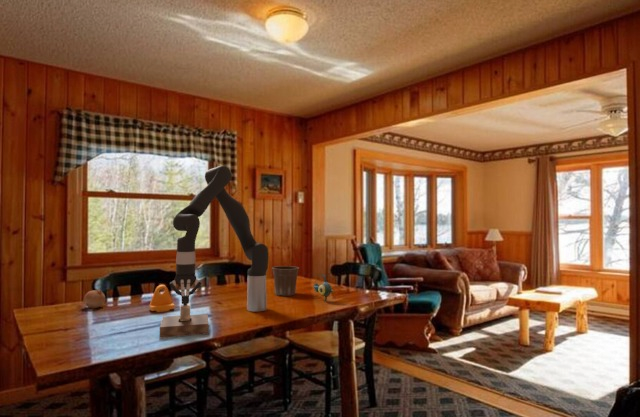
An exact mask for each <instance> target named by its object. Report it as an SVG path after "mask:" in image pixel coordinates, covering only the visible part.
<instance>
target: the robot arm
mask: <svg viewBox="0 0 640 417" xmlns="http://www.w3.org/2000/svg"><path fill="white" fill-rule="evenodd" d="M232 175H233V174H232V171H231V170H230V168H229V167H228V166H226V165H219V166H216V167H212V168H210V169H208V170H206V171H205V173H204V179H205V182H206V184H207V185H206V186H205V187H204V188H203V189H201V190H200V191H199V192H197V194H196V195H194V197H193V198H192V200H191V201H190V203H189V204H187V205H186V206H185V207H184V208H182V209H181V210H180V211H179V212H178V213H177V214H175V216H174V218H173V220H172V221H173V222H172V225H173V227H174V230H176V231H179V232H185V235H184V236H181V237H179V238H177V240H176V245H177V246H176V256H175V257H176V260H175V277H174V280H172V281H170V282H169V286H170V287H171V289H172V290H173V292H175V294H176V295H178V296H181V305H187V304H189V303H190V296H191V295H194V294H195V292H196V291H197V290H198V288H200V286H201V285H202V281H201V280H199V279H197V276H196V262H197V261H196V241H197V236H198V232H199V230H200V224H201V223H200V222H201V221H200V218H199V217H202V216H203V215H204V213H205V212H206V210H207V209H208V208H209V206H210V205H211V203H212V202H213V200H214V199H215V198H216V199H217V201H218V203H219V205H220V206H221V209H222V210H223V212H224V214H225V217H226V218H227V220H228V222H229V223H230V226H231V227H232V229H233V231H234V233H235V235H236V236H237V239H238V240H239V243H240V245H241V248H242V250H243V253H244V255H245V257H246V258H247V259H248V260H250V261H251V265H250V266H251V267H250V268H248V269H247V279H246V280H247V282H246V284H247V286H246V288H247V292H246V296H247V297H246V298H247V299H246V302H247V303H246V309H247V311H248V312H256V313H257V312H262V311H263V312H264V311H267V307H268V305H267V304H268V302H267V300H268V299H267V297H268V296H267V295H268V291H267V271H268V268H269V249H268V247H267V245H266V244H265V243H260V242H257V241H256V239H255V238H254V236H253V234H252V230H251V224H250V218H249V216H248V213H247V211H246V209H245V207H244V205H243V204H241V203H240V202H239V201H238V200H236V199H235V198H234V197H233V196H231V195H230V194H229V193H228V191H227V190H226V188H225V187H227V185H229V184H230V182H231V181H232ZM193 284H194V285H195V286H194V287H193V288H192V289H191V290H190V288H191V287H192V286H193ZM177 285H178V287H179V288H180V289H178V287H177ZM185 288H186V290H185Z"/></svg>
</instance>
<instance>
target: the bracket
mask: <svg viewBox="0 0 640 417" xmlns="http://www.w3.org/2000/svg"><path fill="white" fill-rule="evenodd" d="M168 288H169V287H167V286H166V285H165V284H159V285H158V286H156V287H155V290H154V292H153V296H152V297H151V299H150V303H149V308H148V309H149V310H150V311H151V312H156V313H160V312H161V313H163V312H170V310H173V309H175V304H174V302H173V299H172V297H171V295H170V292H169V289H168ZM162 289H164V290H163V292H160V291H161V290H162Z"/></svg>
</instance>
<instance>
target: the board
mask: <svg viewBox="0 0 640 417" xmlns="http://www.w3.org/2000/svg"><path fill="white" fill-rule="evenodd" d="M195 335H209V316H208V313H202V314H190V321H188V322H180V315H173V316H172V315H171V316H163V317H162V319H161V323H160V325H159V338H172V337H173V338H174V337H183V336H184V337H185V336H195Z"/></svg>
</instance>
